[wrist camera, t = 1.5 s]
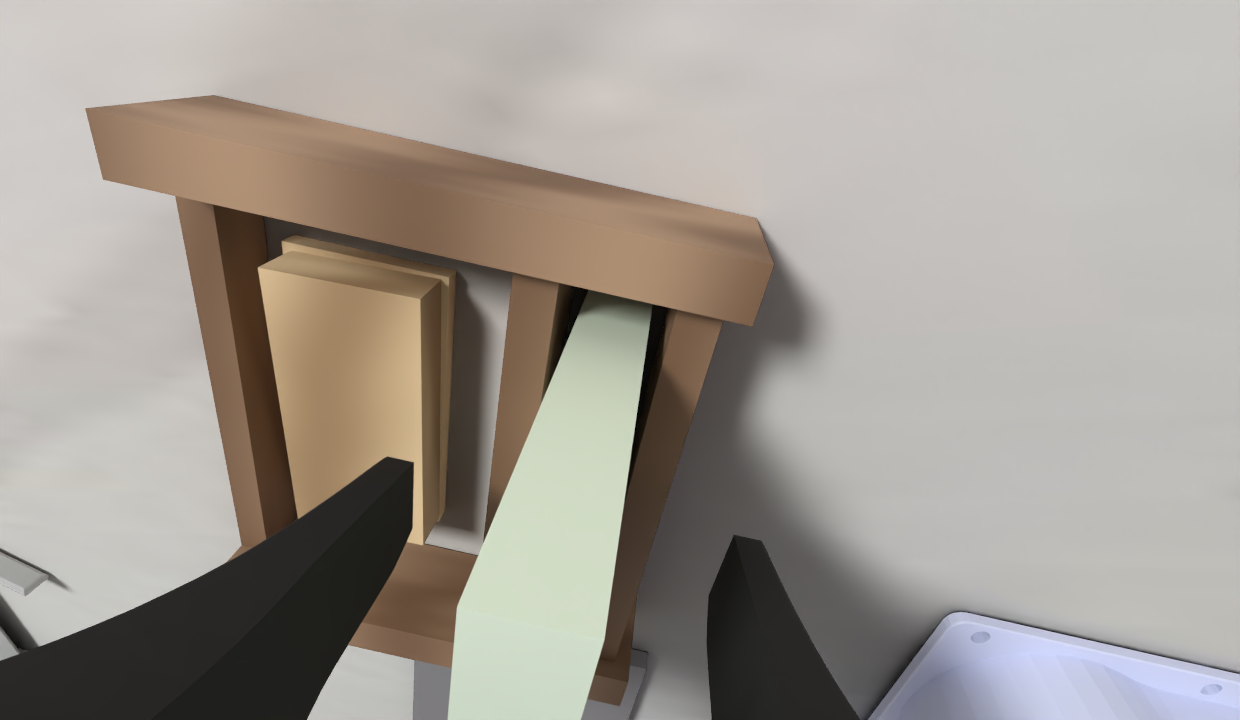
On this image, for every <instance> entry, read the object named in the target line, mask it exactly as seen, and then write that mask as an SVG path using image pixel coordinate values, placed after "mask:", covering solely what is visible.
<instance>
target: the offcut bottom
mask: <svg viewBox="0 0 1240 720" xmlns="http://www.w3.org/2000/svg"><path fill="white" fill-rule="evenodd" d="M281 242H282V251H283V254H285V253H287V252H289V251H291V250H293V251H298V252H303V253H308V254H314V255H319V256H324V257H329V258H334V259H339V260H344V261H350V262H355V263H360V264H365V265H370V266H375V267H380V268H385V269H391V270H396V271H401V272H406V273H411V274H416V275H421V276H427V277H432V278H437V279H441V388H440V503H439V506H440V509H439V517H438V518H437V520H436V522H439V521H440V519H441V517H442V515H443V513H444V511H445V498H446V477H447V456H448V436H449V415H450V394H451V373H452V353H453V332H454V311H455V291H456V270H453V269H448V268H444V267H439V266H435V265H430V264H425V263H421V262H416V261H412V260H407V259H403V258H398V257H394V256H389V255H384V254H380V253H375V252H371V251H366V250H362V249H357V248H352V247H348V246H343V245H339V244H334V243H330V242H325V241H320V240H316V239H311V238H307V237H302V236H298V235H293V236H291V237H288V238H286V239H284V240H282V241H281Z"/></svg>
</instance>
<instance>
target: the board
mask: <svg viewBox="0 0 1240 720" xmlns="http://www.w3.org/2000/svg"><path fill="white" fill-rule="evenodd" d="M652 305H653V304H650V303H646V302H642V301H637V300H633V299H628V298H624V297H620V296H615V295H611V294H606V293H602V292H597V291H593V290H588V293H587V295H586V297H585V300H584V302H583V305H582V307H581V310H580V312H579V314H578V317H577V319H576V322H575V324H574V326H573V329H572V331H571V334H570V336H569V338H568V341H567V343H566V346H565V348H564V350H563V353H562V355H561V358H560V360H559V362H558V365H557V367H556V370H555V372H554V375H553V377H552V379H551V382H550V384H549V387H548V389H547V391H546V394H545V396H544V399H543V401H542V403H541V406H540V408H539V411H538V413H537V415H536V418H535V420H534V423H533V425H532V427H531V430H530V432H529V435H528V437H527V440H526V442H525V444H524V447H523V449H522V452H521V454H520V456H519V459H518V461H517V464H516V466H515V468H514V471H513V473H512V476H511V478H510V480H509V483H508V485H507V488H506V490H505V492H504V495H503V497H502V500H501V502H500V505H499V507H498V509H497V512H496V514H495V517H494V519H493V521H492V524H491V526H490V529H489V531H488V533H487V536H486V538H485V541H484V543H483V545H482V548H481V550H480V553H479V555H478V557H477V560H476V562H475V565H474V567H473V570H472V572H471V574H470V577H469V579H468V582H467V584H466V586H465V589H464V591H463V594H462V596H461V598H460V601H459V603H458V606H457V612H456V624H455V636H454V648H453V660H452V672H451V684H450V696H449V708H448V720H581V718H582V714H583V711H584V707H585V704H586V701H587V697H588V694H589V690H590V687H591V684H592V680H593V677H594V674H595V670H596V667H597V663H598V660H599V657H600V653H601V650H602V646H603V643H604V639H605V632H606V625H607V618H608V611H609V604H610V597H611V590H612V583H613V576H614V570H615V563H616V556H617V549H618V542H619V535H620V528H621V521H622V514H623V507H624V500H625V493H626V486H627V479H628V472H629V465H630V458H631V451H632V444H633V437H634V431H635V424H636V417H637V410H638V403H639V396H640V389H641V382H642V375H643V368H644V361H645V354H646V347H647V340H648V333H649V326H650V319H651V312H652Z"/></svg>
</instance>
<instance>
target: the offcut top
mask: <svg viewBox="0 0 1240 720" xmlns="http://www.w3.org/2000/svg"><path fill="white" fill-rule="evenodd" d="M258 272H259V279H260V285H261V291H262V297H263V304H264V310H265V316H266V322H267V329H268V335H269V341H270V347H271V354H272V360H273V366H274V372H275V378H276V385H277V391H278V397H279V403H280V410H281V416H282V422H283V428H284V435H285V441H286V447H287V453H288V460H289V466H290V472H291V478H292V485H293V491H294V497H295V503H296V510H297V516H298V519H299V518H300V517H302V516H303V515H305V514H306V513H308V512H309V511H310V510H312V509H313V508H315V507H316V506H318V505H319V504H321V503H322V502H324V501H325V500H326V499H328V498H329V497H331V496H332V495H334V494H335V493H336V492H338V491H339V490H341V489H342V488H343V487H345V486H346V485H348V484H349V483H350V482H352V481H353V480H354V479H356V478H357V477H359V476H360V475H361V474H363V473H364V472H365V471H367V470H368V469H369V468H371V467H372V466H373V465H375V464H376V463H378V462H379V461H380V460H382V459H383V458H385V457H387V456H388V457H392V458H397V459H401V460H406V461H410V462H414V488H413V529H412V531H411V533H410V535H409V538H408V540H407V542H409V543H414V544H419V545H424V543H425V541H426V539H427V537H428V535H429V533H430V532H431V530H432V528H433V526H434V524H435V522H436V520H437V518H438V517H439V509H440V506H439V503H440V388H441V279H437V278H432V277H427V276H421V275H416V274H411V273H406V272H401V271H396V270H391V269H385V268H380V267H375V266H370V265H365V264H360V263H355V262H350V261H344V260H339V259H334V258H329V257H324V256H319V255H314V254H308V253H303V252H298V251H293V250H291V251H289V252H287V253H285V254H283V255H281V256H279V257H277V258H275V259H273V260H271V261H269V262H267V263H265V264H264V265H262V266H260V267H258Z"/></svg>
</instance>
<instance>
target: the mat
mask: <svg viewBox="0 0 1240 720" xmlns="http://www.w3.org/2000/svg"><path fill="white" fill-rule="evenodd" d="M647 658H648V653H647V652H642V651H638V650H633V649H631V660H630V670H629V680H628V685H627V687H626V690H625V693H624V696H623V699H622V702H621V705H620V706H616V705H612V704H607V703H603V702H598V701H594V700H589V699H587V701H586V704H585V707H584V711H583V714H582V718H581V720H628V718H629V716H630V713H631V710H632V708H633V705H634V702H635V699H636V697H637V694H638V691H639V689H640V686H641V683H642V681H643V678H644V675H645V672H646V670H647ZM451 672H452V668H448V667H443V666H439V665H435V664H430V663H426V662H421V661H417V660H415V664H414V700H413V720H448V708H449V696H450V684H451Z"/></svg>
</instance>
